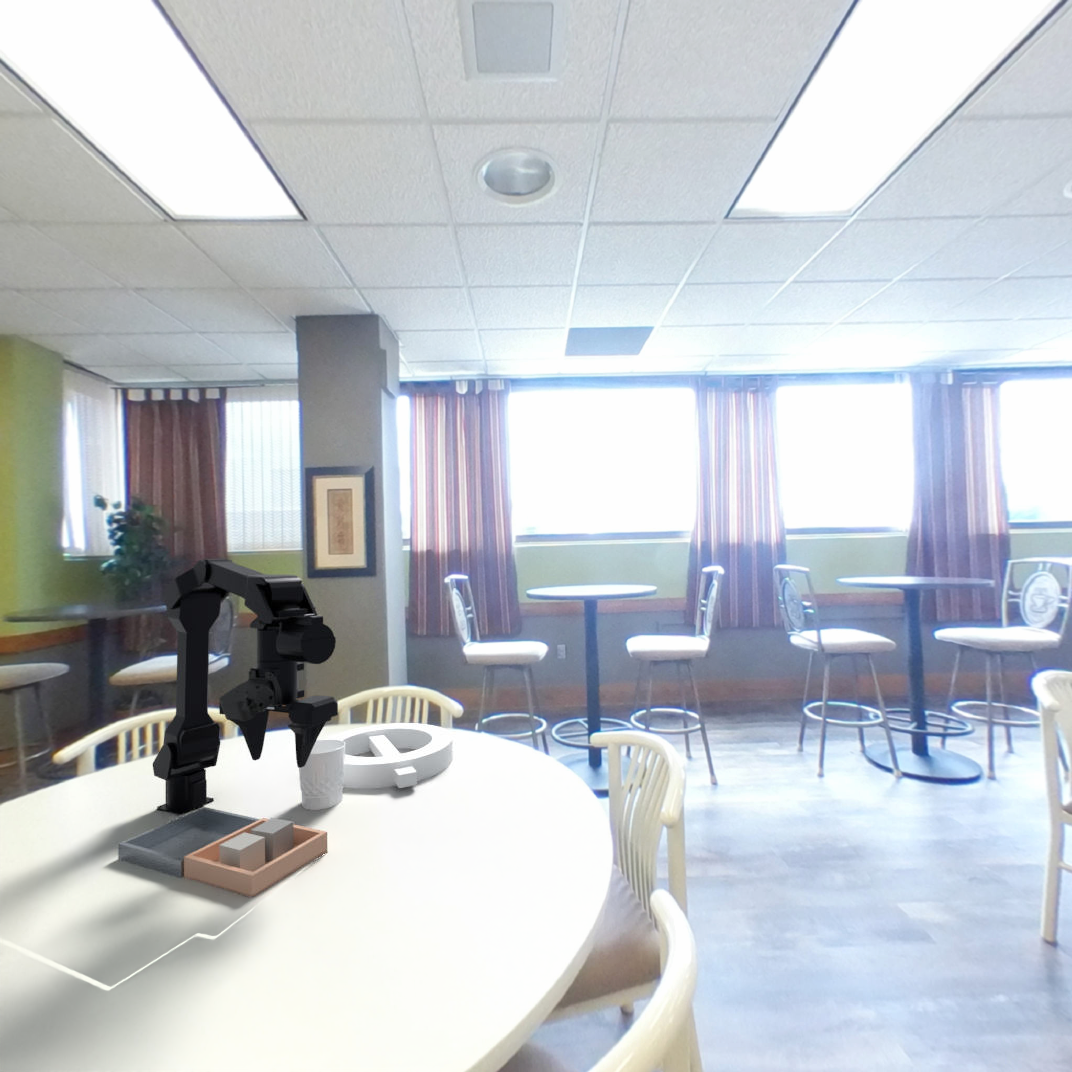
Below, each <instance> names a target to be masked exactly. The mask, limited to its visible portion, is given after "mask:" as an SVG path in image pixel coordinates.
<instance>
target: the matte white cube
mask: <svg viewBox="0 0 1072 1072" xmlns="http://www.w3.org/2000/svg"><path fill="white" fill-rule="evenodd" d="M219 863H222V864H226V865H229V866H233V867H237V868H240V869H244V870H248V871H251V872H254V871H256V870H257V869H259V868H261V867H262V866H264V865H265V837H262V836H258V835H254V834H249V833H245V832H244V833H242V834H240V835H238V836H236V837H234V838H232V839H230V840H228V841H226V842H224V843H222V844H220V845H219Z"/></svg>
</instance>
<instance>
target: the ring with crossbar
mask: <svg viewBox="0 0 1072 1072" xmlns="http://www.w3.org/2000/svg"><path fill="white" fill-rule="evenodd" d="M324 740H341V741H343V742H345V769H344V785H343V789H344V788H345V789H346V788H347V789H382V788H390V787H396V786H397V788H398V789H401V788H406V787H413V786H417V783H418V781H421V780H425V779H428V778H431V777H433V776H435V775H437V774H439V773H441V772H443V771H445V770H446V769H447V768H449V767H450V765H451V764H452V763H453V760H454V756H453V755H454V753H453V752H454V751H453V748H454V746H453V734H452V733H451V732H450V731H449V730H448V729H446V728H444V727H440V726H437V725H433V724H428V723H427V724H425V723H416V722H415V723H414V722H413V723H411V722H410V723H409V722H406V723H405V722H400V723H399V722H397V723H383V724H375V725H368V726H361V727H358V728H353V729H349V730H345V731H342V732H338V733H336V734H333V735H330V736H329V737H326V738H325V739H324ZM398 749H409V750H410V749H411V750H412V751H407V752H404V753H400V752H399V750H398ZM368 752H372V754H373V755H374V756H358V755H361V754H364V753H368Z"/></svg>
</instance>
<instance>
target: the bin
mask: <svg viewBox="0 0 1072 1072" xmlns="http://www.w3.org/2000/svg"><path fill="white" fill-rule="evenodd" d="M260 819H261V818H256V817H251V816H247V815H242V814H238V813H233V812H229V811H225V810H220V809H215V808H211V807H206V806H202V808H201V807H200V808H198V809H195V810H193V811H191V812H188V813H186V814H184V815H183V816H180V817H178V818H175V819H173V820H171V821H168V822H166V823H163V824H161V825H159V826H157V827H154V828H152V829H150V830H146V831H144V832H142V833H140V834H138V835H135V836H134V837H130V838H128V839H126V840H124V841H121V842H119V843H118V844H117V846H118V847H117V848H118V851H117V852H118V854H117V855H118V856H117V859H118V860H119V861H122V862H125V863H130V864H132V865H135V866H138V867H142V868H145V869H149V870H153V871H155V872H159V873H163V874H166V875H169V876H172V877H175V878H179V879H183V878H184V856H187V855H189V854H191V853H193V852H195V851H197V850H199V849H201V848H203V847H205V846H207V845H209V844H211V843H213V842H215V841H217V840H219V839H221V838H223V837H225V836H227V835H229V834H231V833H233V832H235V831H237V830H239V829H242V828H244V827H246V826H248V825H250V824H252V823H254V822H256V821H258V820H260Z"/></svg>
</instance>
